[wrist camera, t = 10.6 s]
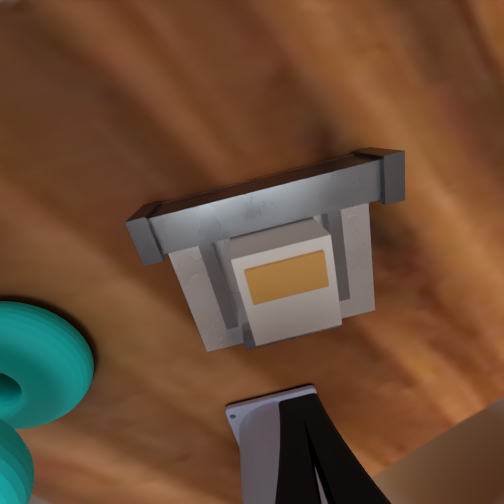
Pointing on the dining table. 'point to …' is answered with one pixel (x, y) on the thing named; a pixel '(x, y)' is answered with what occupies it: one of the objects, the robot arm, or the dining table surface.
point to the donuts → (35, 385)
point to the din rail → (262, 217)
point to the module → (287, 280)
